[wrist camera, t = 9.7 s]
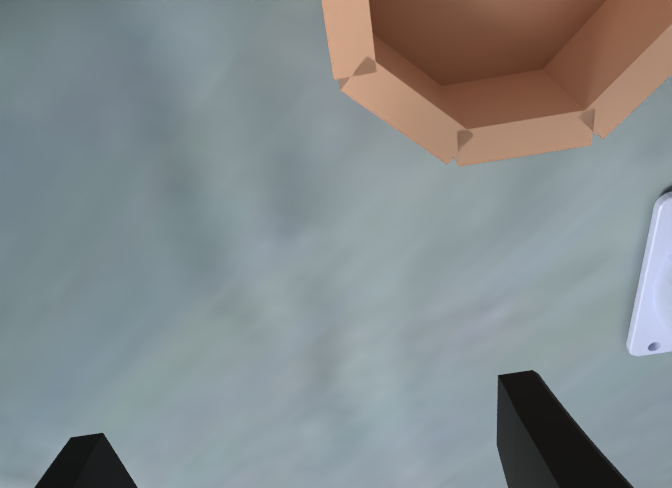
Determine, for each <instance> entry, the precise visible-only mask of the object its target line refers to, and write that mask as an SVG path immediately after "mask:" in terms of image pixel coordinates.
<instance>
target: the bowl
mask: <svg viewBox="0 0 672 488" xmlns="http://www.w3.org/2000/svg"><path fill="white" fill-rule="evenodd" d="M321 1H322V7H323V14H324V20H325V27H326V33H327V39H328V46H329V52H330V58H331V65H332V71H333V77H334V80H335V79H339V84H340V90H341V91H342V92H344V93H345V94H346V95H348V96H349V97H351V98H352V99H354V100H355V101H356V102H358V103H359V104H361V105H362V106H364V107H365V108H366V109H368V110H369V111H371V112H372V113H374V114H375V115H377V116H378V117H379V118H381V119H382V120H384V121H385V122H387V123H388V124H389V125H391V126H392V127H394V128H395V129H397V130H398V131H400V132H401V133H402V134H404V135H405V136H407V137H408V138H410V139H411V140H412V141H414V142H415V143H417V144H418V145H420V146H421V147H423V148H424V149H425V150H427V151H428V152H430V153H431V154H433V155H434V156H435V157H437V158H438V159H440V160H441V161H443V162H444V163H446V164H448V163H449V162H450V161H451V160H452V159H453V158H454V159H455V161H456V163H457V165H458V167H459V166H466V165H472V164H478V163H484V162H490V161H497V160H503V159H509V158H515V157H521V156H528V155H534V154H540V153H546V152H552V151H559V150H565V149H571V148H577V147H583V146H590V145H591V143H592V135H593V131H594V132H595V133H596V134H597V135H598V136H600V137H601V138H602V139H604V138H605V137H606V136H607V135H608V134H609V133H610V132H611V131H612V130H613V129H614V128H615V127H616V126H618V125H619V124H620V123H621V122H622V121H623V120H624V119H625V118H626V117H627V116H628V115H629V114H630V113H631V112H632V111H633V110H634V109H635V108H636V107H638V106H639V105H640V104H641V103H642V102H643V101H644V100H645V99H646V98H647V97H648V96H649V95H650V94H651V93H652V92H653V91H654V90H655V89H657V88H658V87H659V86H660V85H661V84H662V83H663V82H664V81H665V80H666V79H667V78H668V77H669V76H670V75H671V74H672V0H321Z"/></svg>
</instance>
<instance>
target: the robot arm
mask: <svg viewBox="0 0 672 488" xmlns="http://www.w3.org/2000/svg"><path fill="white" fill-rule="evenodd" d="M626 346H627V349H628V350H629V352H630V353H631V354H632V355H635V356H643V355H649V354H656V353H663V352H670V351H672V192H668V193H665V194H664V195H662V196H661V197H660V198H659V199H658V200H657V201H656V203H655V205H654V210H653V215H652V220H651V225H650V230H649V235H648V240H647V244H646V249H645V254H644V259H643V264H642V269H641V274H640V279H639V284H638V289H637V294H636V299H635V304H634V309H633V314H632V319H631V324H630V328H629V333H628V338H627V343H626ZM497 448H498V451H499V455H500V459H501V463H502V466H503V470H504V474H505V478H506V481H507V485H508V488H633V486H632V485H631V484H630V483H629V482H628V481H627V480H626V479H625V478H624V477H623V475H622V474H621V473H620V472H619V471H618V470H617V469H616V468H615V467H614V466H613V464H612V463H611V462H610V461H609V460H608V459H607V458H606V457H605V456H604V455H603V453H602V452H601V451H600V450H599V449H598V448H597V447H596V445H595V444H594V443H593V442H592V441H591V440H590V438H589V437H588V436H587V435H586V434H585V432H584V431H583V430H582V429H581V428H580V426H579V425H578V424H577V423H576V422H575V421H574V419H573V418H572V417H571V416H570V414H569V413H568V412H567V411H566V409H565V408H564V407H563V406H562V404H561V403H560V402H559V401H558V399H557V398H556V397H555V395H554V394H553V393H552V392H551V390H550V389H549V388H548V386H547V385H546V384H545V382H544V381H543V380H542V378H541V377H540V375H539V374H538V373H536V372H535V371H533V370H530V371H524V372H517V373H510V374H503V375H498V404H497ZM35 488H137V486H136V484H135V483H134V481H133V480H132V478H131V477H130V475H129V473H128V472H127V470H126V469H125V467H124V465H123V464H122V462H121V461H120V459H119V457H118V456H117V454H116V453H115V451H114V449H113V448H112V446H111V445H110V443H109V442H108V440H107V438H106V437H105V435H104V434H103V433H99V434H92V435H85V436H78V437H71V438H70V439H69V441H68V442H67V444H66V445H65V446H64V448H63V449H62V450H61V452H60V453H59V454H58V456H57V457H56V458H55V460H54V461H53V463H52V464H51V465H50V467H49V468H48V470H47V471H46V472H45V474H44V475H43V477H42V478H41V479H40V481H39V482H38V484H37V485H36V486H35Z"/></svg>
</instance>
